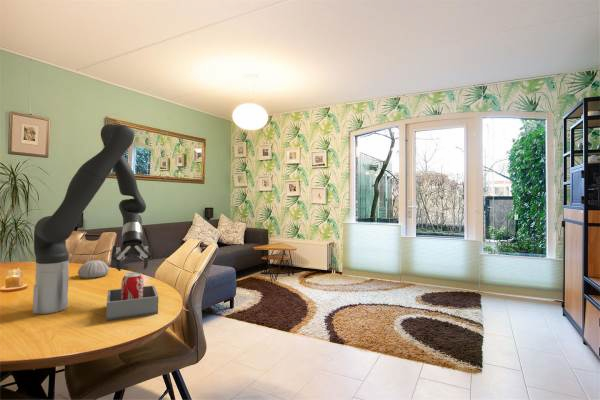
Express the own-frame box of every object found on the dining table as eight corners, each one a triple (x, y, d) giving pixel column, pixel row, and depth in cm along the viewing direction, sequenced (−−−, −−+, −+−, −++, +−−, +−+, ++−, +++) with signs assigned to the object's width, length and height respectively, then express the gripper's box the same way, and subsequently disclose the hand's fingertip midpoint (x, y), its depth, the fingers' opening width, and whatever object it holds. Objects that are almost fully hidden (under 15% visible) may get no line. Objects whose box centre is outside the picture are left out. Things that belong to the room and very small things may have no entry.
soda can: (133, 311, 110) (134, 277, 110) (115, 309, 111) (117, 275, 111) (146, 305, 117) (148, 272, 117) (130, 303, 118) (131, 271, 118)
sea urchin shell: (71, 277, 154) (71, 261, 154) (96, 271, 167) (96, 256, 166) (91, 280, 150) (92, 264, 150) (116, 274, 163) (116, 259, 163)
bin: (106, 321, 103) (106, 302, 103) (107, 306, 117) (108, 290, 116) (157, 313, 111) (158, 296, 111) (153, 300, 124) (154, 285, 124)
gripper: (112, 230, 124) (110, 264, 114) (152, 229, 131) (153, 262, 121) (112, 241, 128) (110, 276, 118) (150, 240, 135) (152, 272, 125)
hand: (132, 269), depth 120 cm, fingers open, 8 cm apart
